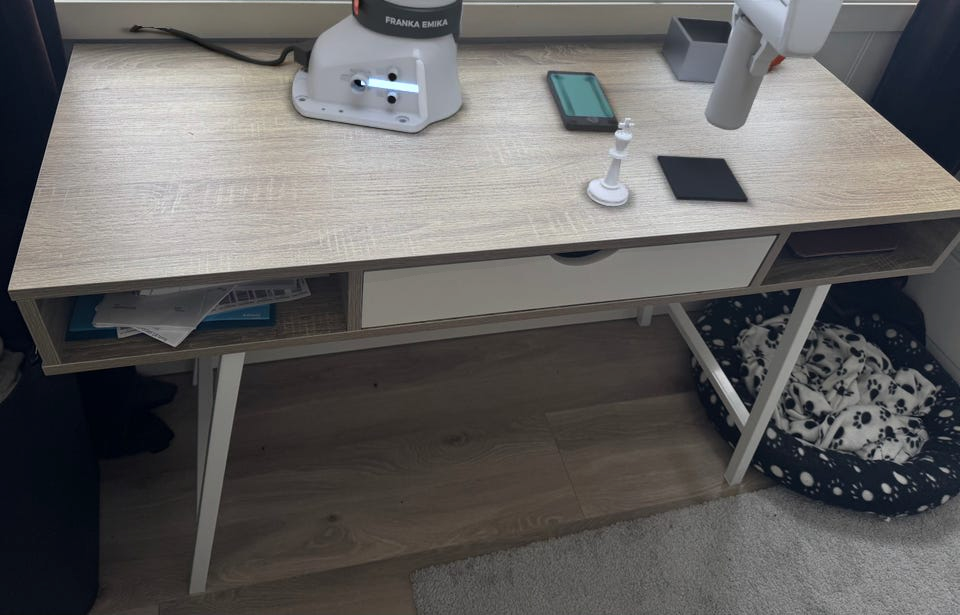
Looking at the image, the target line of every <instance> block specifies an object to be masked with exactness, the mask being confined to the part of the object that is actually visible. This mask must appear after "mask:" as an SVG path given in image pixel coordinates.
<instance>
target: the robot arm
mask: <svg viewBox="0 0 960 615" xmlns="http://www.w3.org/2000/svg"><path fill="white" fill-rule="evenodd" d="M463 1H464V0H351V12H352V13H351V14H349V15H348V16H347V17H345V18H343V19H342V20H340V21H339V22H337V23H336V24H334V25H332V26H331V27H329V28H328V29H327V30H324V31H323V32H321V34H320V35H319V36H316V37H313V38H310V39H307V40H304V41H301V42H298V43H294V44H291V45H288V46H287V47H285V48H284V49H283V50H282V51H281V53H280V56H279V57H278V58H277V59H274V60H266V61H265V60H259V59H254V58H251V57H248V56H246V55H243V54H242V53H239V52H236V51H234V50H231V49H230V48H229V49H228V48H226V47H223V46H220V45H216V44H214V43H212V42H210V41H207V40H206V39H203V38H202V37H199V36H197V35H195V34H192V33H190V32H186V31H183V30H179V29H177V28H171V27H169V28H170V29H167V28H154V27H142V26H137V25H136V24H134V25H132V27H130V29H129V31H128V32H129V33H136V32H138V31H139V30H141V29H155V30H158V31H162V32H164V33H165V32H166V33H168V34H171V35H175V36H179V37H183V38H186V39H189V40H192V41H194V42H196V43H198V44H200V45H202V46H204V47H206V48H208V49H210V50H213V51H216V52H219V53H222V54H225V55H228V56H231V57H233V58H236V59H237V60H240V61H242V62H245V63H249V64H254V65H259V66H265V67H276V66H279V65H282V64H283V63H284V62H285V60H286V57H287V56H288V54H289V53H291V52H293V62H295V63H297V64H298V65H300V66H301V67H300V68H299V69H298V71H296V74H295V75H294V78H293V81H292V88H291V100H292V104H293V107H294V108H295V110H296V111H297V112H298V113H299V114H300V115H301V116H303V117H306V118H313V119H319V120H325V121H332V122H337V123H346V124H351V125H357V126H363V127H364V126H365V127H370V128H376V129H377V128H379V129H385V130H389V131H390V130H391V131H397V132H404V133H410V134H411V133H418V132H420V131H422V130H424V129H425V128H426V127H427V126H428V125H430V124H432V123H436V122H438V121H441V120H444V119H447V118H450V117H451V116H453V115H455V114H456V113H457V112H458V111H459V110H460V109H461V107H462V105H463V100H464V98H463V95H462V88H461V84H460V77H459V65H458V64H459V63H458V62H459V61H458V43H459V41H460V35H461V33H462V25H463V14H464V2H463ZM732 2H734V5H733V8H732V12H731V15H732V16H731V22H732V31H731V33H730V36H729V39H728V44H729V41H730V38H731V35H732V32H733V29H734V27H735V24H736V21H737V20H738V19H739V16H740V15H741V14H742V13H744V14H745V15H746V16H747V17H748V18H749V19H750V20H751V22H752V23H753V24H754V25H755V26H756V27H757V29H758V30H759V31H760V32H761V33H762V34H763V35H762V38H761V41H760V43H761V44H762V46H761V47H760V49H759V50H758V52H757V53H756V54H751V56H750V59H749V63H748V64H747V69H748V70H749V72H750V73H751V74H752V75H753V76H764V77H765V76H766V75H767V73H768V71H769V69H770V68H769V67H770V64H771V62H772V61H773V60H774V59H775V58H776V57H777V56H778V55H779V54H780V55H781V56H783V57H786V58H793V59H811V58H812V57H814V56H815V55H817V54H818V53H819V52H820V51H821V49H822V48H823V46H824V45H825V43H826V42H827V39H828V37H829V35H830V32H831V30H832V29H833V26H834V24H835V22H836V20H837V18H838V15H839V13H840V11H841V8H842V6H843V3H844V0H732Z"/></svg>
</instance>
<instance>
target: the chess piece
mask: <svg viewBox="0 0 960 615" xmlns="http://www.w3.org/2000/svg"><path fill="white" fill-rule="evenodd" d="M618 123H619V124H618V129H617V131H616V132H614V147H612V148H610V150H609V151H608V154H609V155H610V156H611V157H612V159H611V161H610V164H609V167H608V169H607V172H606V174H605V176H604V177H598V178H595V179H593V180H591V181H590V182H589V184H588V186H587V189H586V193H587V196H588V197H589V198H590V199H591V200H592V201H593V202H595V203H597V204H600V205H602V206H607V207H620V206H622V205H625V204H626V203H627V202H628V199H629V194H630V192H629V190H628V188H627V186H626V185H624V183H622V182H620V181H619V177H620V170H621V165H622V160H625V159H627V158H628V157H629V154H628V151H627V150H626V149H627V147H628V145H629V144H630V143H631V141H632V140H633V137H634V136H633V134H632V133H631V132H630V131H628V130H634V129H635V123H632V122H631V118H630V117H625V119H624V122H618Z"/></svg>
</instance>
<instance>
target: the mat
mask: <svg viewBox="0 0 960 615" xmlns="http://www.w3.org/2000/svg"><path fill="white" fill-rule="evenodd" d="M656 159H657V162H658V164H659V166H660V167H661V170H662V172H663V174H664V177H665V179H666V180H667V183H668V185H669V186H670V188H671V190H672V193H673V195H674V197H675V199H676V200H679V201H680V200H681V201H682V200H683V201H706V202H707V201H708V202H731V203H748V200H749V198H748V196H747V195H746V193H745V191H744V190H743V188H742V186H741V185H740V183H739V181H738V180H737V178H736V176H735V175H734V172H733V171H732V170H731V168H730V166H729V164H728V163H727V161H726V159H725V158H722V157H721V158H719V157H718V158H717V157H697V156H679V155H678V156H676V155H657V157H656Z"/></svg>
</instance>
